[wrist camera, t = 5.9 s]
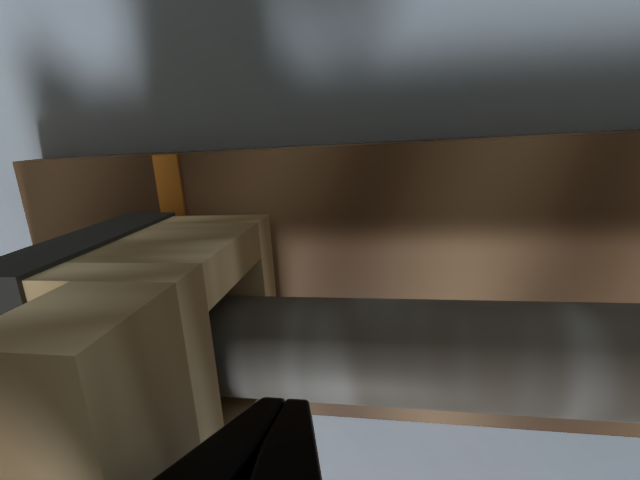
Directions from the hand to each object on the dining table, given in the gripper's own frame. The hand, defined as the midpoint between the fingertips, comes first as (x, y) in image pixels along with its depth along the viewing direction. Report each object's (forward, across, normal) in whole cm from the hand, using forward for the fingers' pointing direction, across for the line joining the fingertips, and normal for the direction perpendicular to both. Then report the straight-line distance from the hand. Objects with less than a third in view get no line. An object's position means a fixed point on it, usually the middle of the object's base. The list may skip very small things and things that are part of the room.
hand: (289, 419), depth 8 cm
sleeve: (+5, +3, 0) cm, 6 cm away
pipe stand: (+7, -1, 0) cm, 7 cm away
